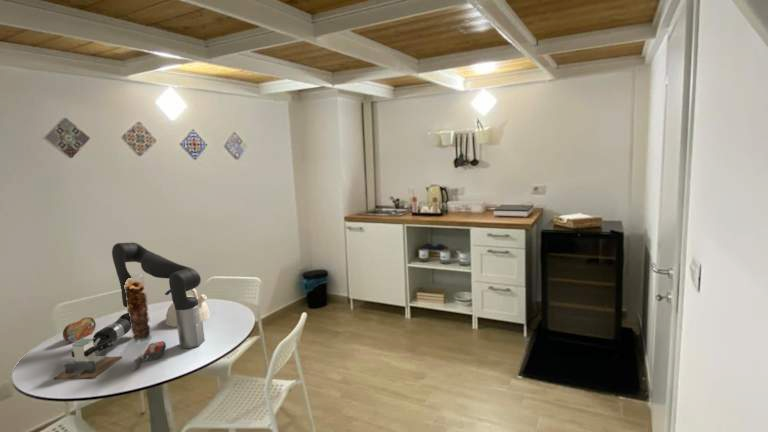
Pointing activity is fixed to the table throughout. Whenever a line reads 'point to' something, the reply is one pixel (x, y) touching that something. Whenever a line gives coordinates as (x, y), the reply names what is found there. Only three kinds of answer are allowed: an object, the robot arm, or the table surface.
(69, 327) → the tin
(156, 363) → the table surface
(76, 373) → the rail
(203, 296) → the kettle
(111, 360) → the mounting board
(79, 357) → the block
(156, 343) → the walkie-talkie
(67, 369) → the block
